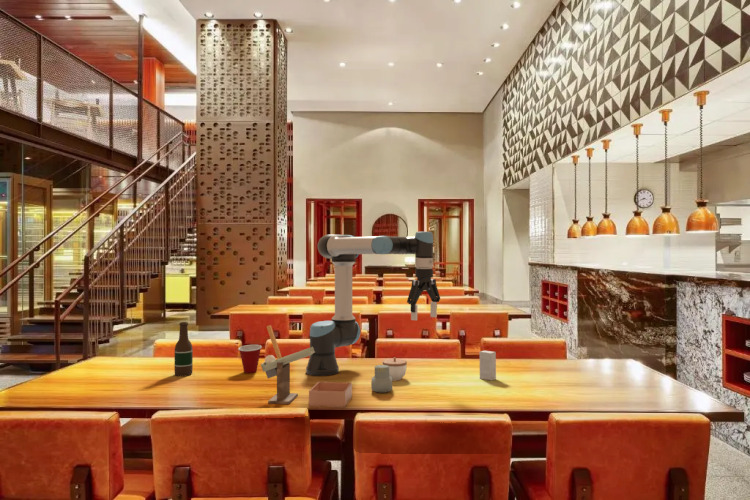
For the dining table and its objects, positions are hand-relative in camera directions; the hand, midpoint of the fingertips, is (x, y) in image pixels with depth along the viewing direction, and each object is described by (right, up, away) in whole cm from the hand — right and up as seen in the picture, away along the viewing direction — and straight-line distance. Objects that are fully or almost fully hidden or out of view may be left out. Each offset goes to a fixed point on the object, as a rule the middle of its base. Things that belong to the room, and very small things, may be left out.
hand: (424, 318), depth 214 cm
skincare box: (+29, -28, +10) cm, 42 cm away
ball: (-61, -13, -21) cm, 66 cm away
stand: (-55, -28, -22) cm, 66 cm away
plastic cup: (-79, -29, +24) cm, 88 cm away
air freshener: (-18, -28, -10) cm, 35 cm away
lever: (-52, -16, -21) cm, 58 cm away
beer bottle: (-109, -29, +19) cm, 114 cm away
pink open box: (-37, -28, -24) cm, 52 cm away
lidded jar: (-12, -28, +10) cm, 32 cm away
